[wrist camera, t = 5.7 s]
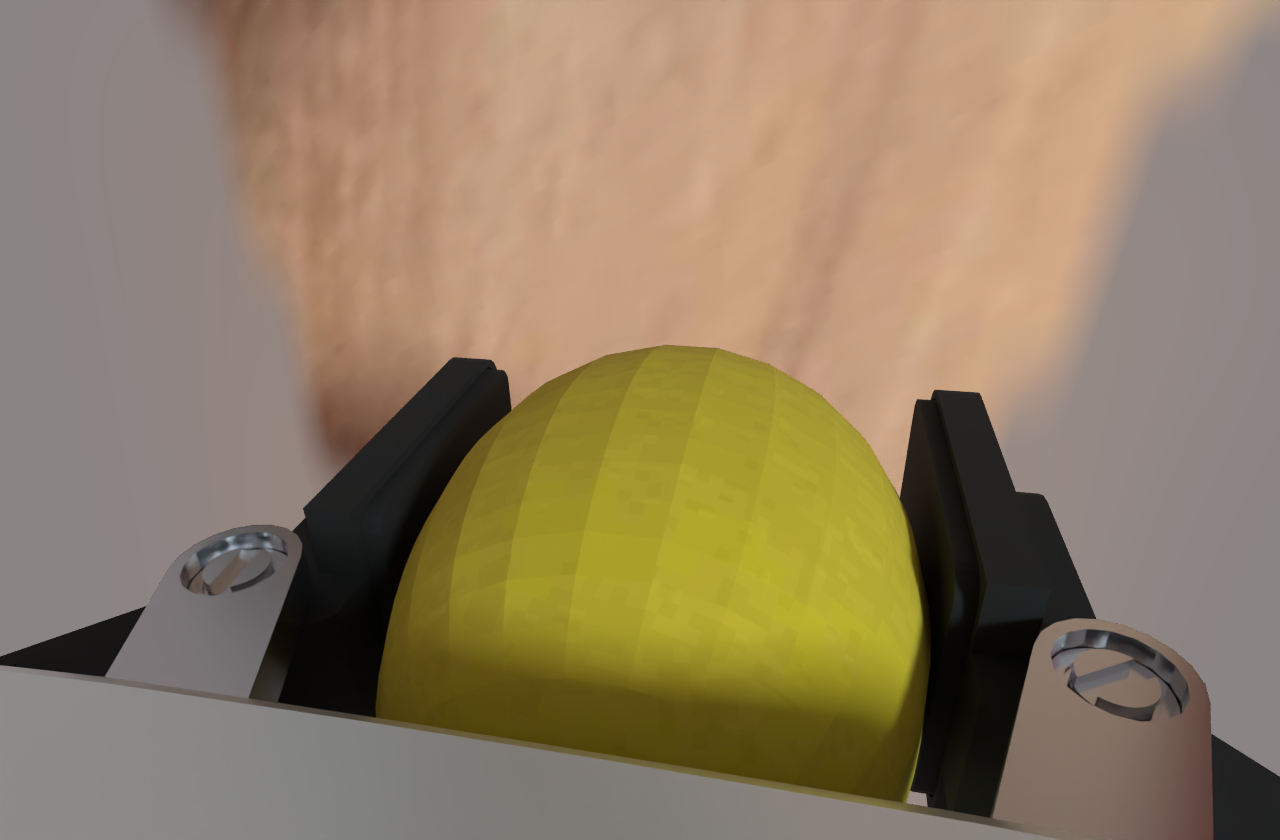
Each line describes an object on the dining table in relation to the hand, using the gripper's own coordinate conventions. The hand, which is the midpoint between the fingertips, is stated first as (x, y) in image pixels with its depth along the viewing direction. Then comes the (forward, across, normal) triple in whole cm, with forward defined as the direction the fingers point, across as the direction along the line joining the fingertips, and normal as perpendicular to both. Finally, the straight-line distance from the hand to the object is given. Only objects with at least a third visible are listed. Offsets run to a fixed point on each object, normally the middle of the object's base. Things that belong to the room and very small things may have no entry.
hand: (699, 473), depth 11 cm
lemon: (+1, 0, 0) cm, 1 cm away
